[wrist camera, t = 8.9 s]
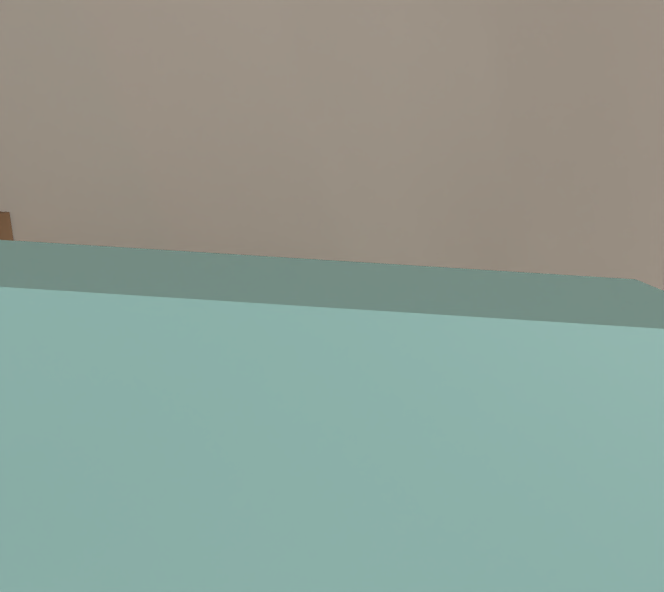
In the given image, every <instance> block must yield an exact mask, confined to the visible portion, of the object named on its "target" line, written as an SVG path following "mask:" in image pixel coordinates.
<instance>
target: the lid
mask: <svg viewBox="0 0 664 592" xmlns="http://www.w3.org/2000/svg"><path fill="white" fill-rule="evenodd" d="M0 592H664V291H663V290H660V289H658V288H655V287H653V286H650V285H648V284H645V283H643V282H640V281H638V280H635V279H621V278H605V277H588V276H572V275H556V274H540V273H524V272H508V271H492V270H476V269H460V268H444V267H428V266H412V265H396V264H380V263H364V262H348V261H332V260H316V259H300V258H283V257H267V256H251V255H235V254H219V253H203V252H187V251H171V250H155V249H139V248H123V247H107V246H91V245H75V244H59V243H43V242H27V241H11V240H0Z"/></svg>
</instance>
